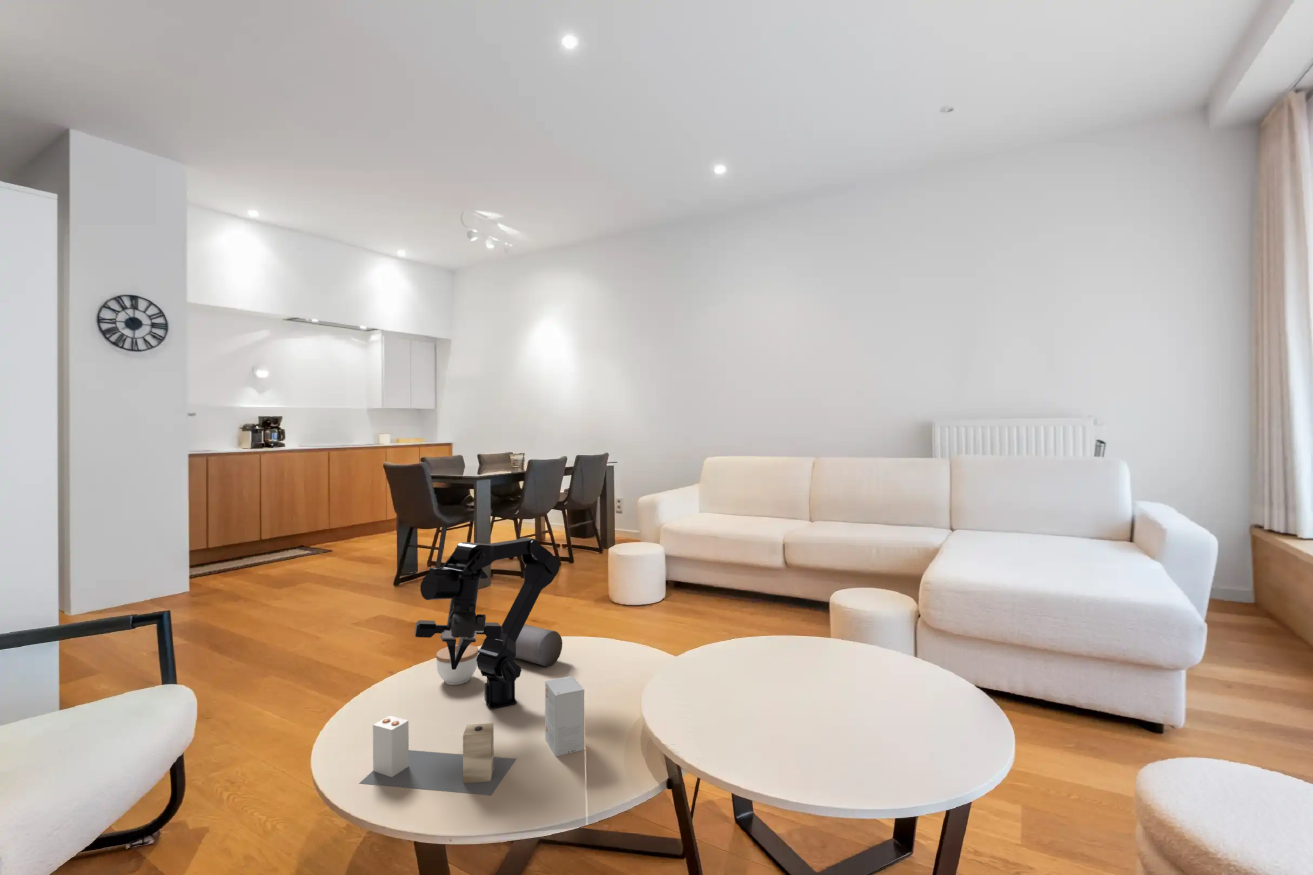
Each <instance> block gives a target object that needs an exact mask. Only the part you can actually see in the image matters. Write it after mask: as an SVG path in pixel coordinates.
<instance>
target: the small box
mask: <svg viewBox="0 0 1313 875" xmlns="http://www.w3.org/2000/svg"><path fill="white" fill-rule="evenodd" d="M544 682H545V683H544V689H545V690H544V692H545V693H544V695H545V696H544V697H545V698H544V699H545V700H544V701H545V702H544V708H545V709H544V713H545V715H544V716H545V718H544V720H545V721H544V722H545V723H544V725H545V726H544V727H545V729H544V733H545V734H544V736H545V737H544V739H545V742H546V743H547V745H548V747H549V748H550V750H551V752H552V754H553V755H554V757H560V756H564V755H568V754H572V753H576V752H579V751H585V689H584V688H583V687H582V685H581V684H580V683H579V681H577V680H576V679H575V677H574V676H573V675H571V676H564V677H559V678H553V679H547V680H545V681H544Z"/></svg>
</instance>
